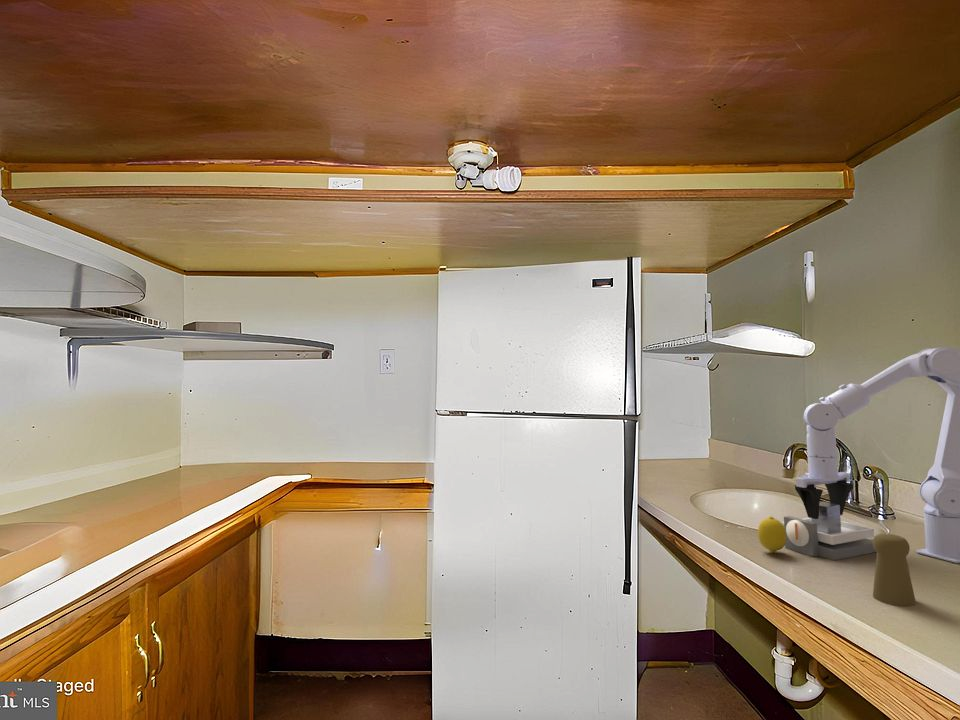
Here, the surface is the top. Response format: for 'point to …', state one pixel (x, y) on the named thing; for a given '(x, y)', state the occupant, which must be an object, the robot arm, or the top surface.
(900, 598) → the cork
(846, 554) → the kitchen scale
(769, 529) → the lemon
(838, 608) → the top surface
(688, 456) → the top surface
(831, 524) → the steel block
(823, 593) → the top surface
